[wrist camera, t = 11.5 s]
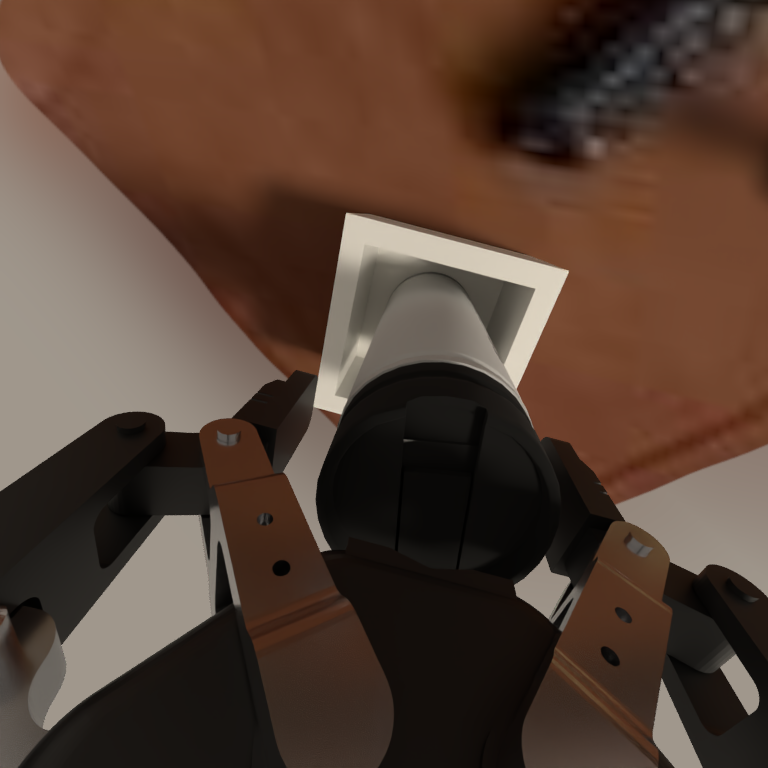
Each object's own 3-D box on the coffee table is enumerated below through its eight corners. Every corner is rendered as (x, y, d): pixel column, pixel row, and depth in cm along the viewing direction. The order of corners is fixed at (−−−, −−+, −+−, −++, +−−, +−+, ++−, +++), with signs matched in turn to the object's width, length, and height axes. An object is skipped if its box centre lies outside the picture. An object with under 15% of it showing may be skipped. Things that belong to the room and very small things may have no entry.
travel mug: (384, 355, 28) (312, 608, 10) (388, 268, 25) (298, 407, 7) (464, 362, 28) (536, 637, 10) (478, 274, 25) (614, 435, 7)
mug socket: (366, 212, 25) (340, 211, 18) (529, 255, 25) (569, 271, 18) (337, 360, 30) (308, 405, 23) (473, 396, 30) (487, 453, 23)
